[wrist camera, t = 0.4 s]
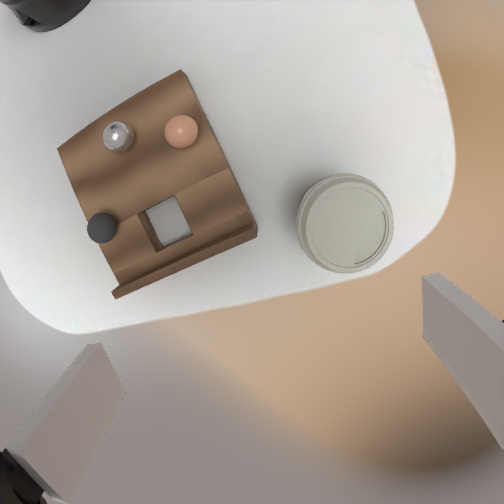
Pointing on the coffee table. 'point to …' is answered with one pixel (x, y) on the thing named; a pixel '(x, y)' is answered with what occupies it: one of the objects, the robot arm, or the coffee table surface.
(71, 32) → the coffee table surface
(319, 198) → the coffee cup
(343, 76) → the coffee table surface
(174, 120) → the clay ball
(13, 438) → the robot arm
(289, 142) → the coffee table surface
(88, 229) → the black ball
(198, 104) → the wooden board
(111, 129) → the steel ball
